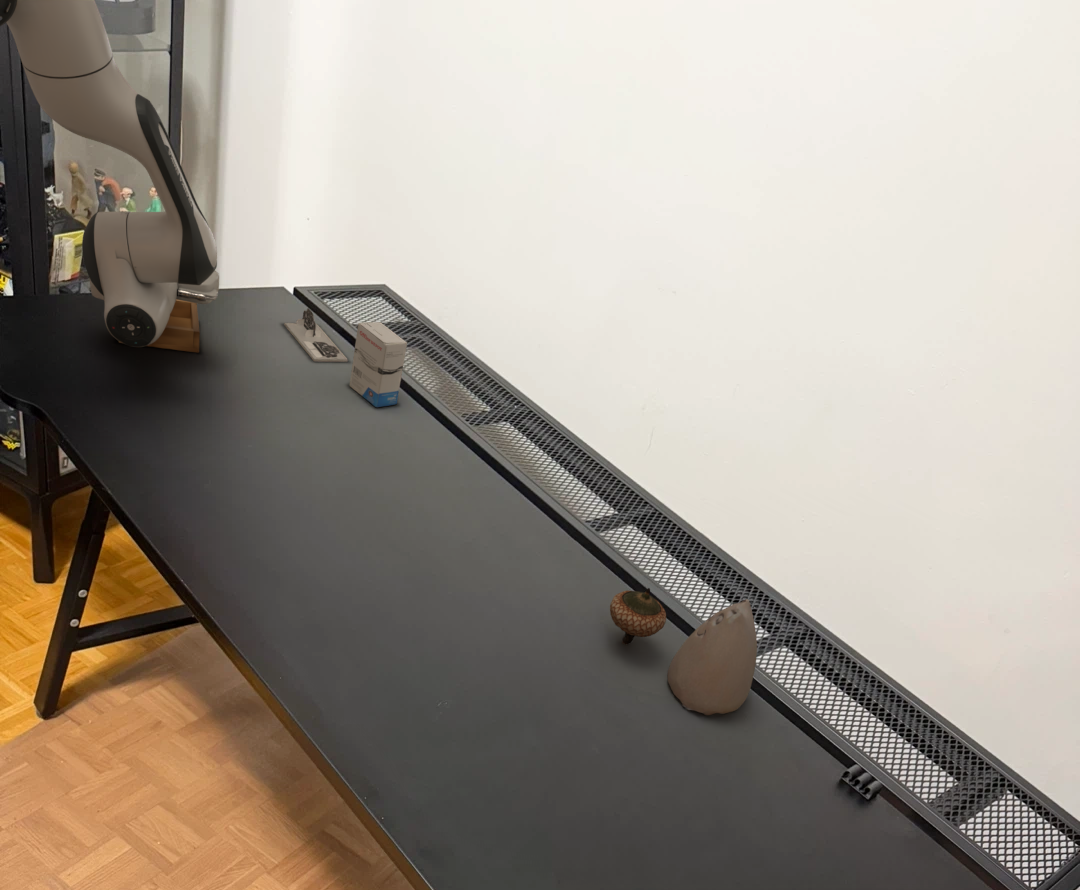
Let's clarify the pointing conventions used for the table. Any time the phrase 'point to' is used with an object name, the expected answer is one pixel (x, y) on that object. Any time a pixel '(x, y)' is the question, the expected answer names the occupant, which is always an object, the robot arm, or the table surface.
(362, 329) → the ink box
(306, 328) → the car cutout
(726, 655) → the sculpture
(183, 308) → the box
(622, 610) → the acorn
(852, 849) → the table surface
